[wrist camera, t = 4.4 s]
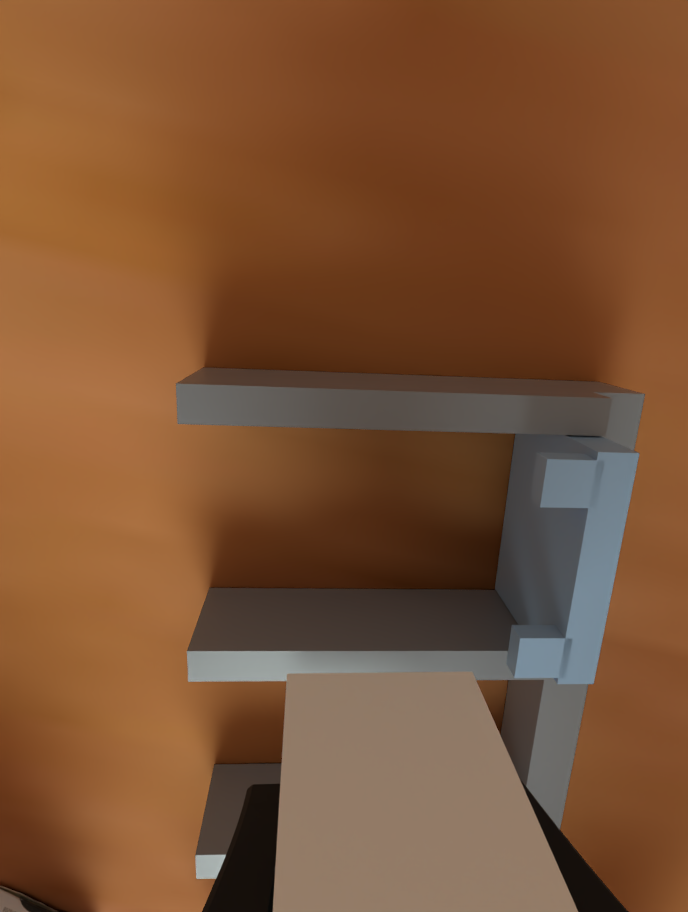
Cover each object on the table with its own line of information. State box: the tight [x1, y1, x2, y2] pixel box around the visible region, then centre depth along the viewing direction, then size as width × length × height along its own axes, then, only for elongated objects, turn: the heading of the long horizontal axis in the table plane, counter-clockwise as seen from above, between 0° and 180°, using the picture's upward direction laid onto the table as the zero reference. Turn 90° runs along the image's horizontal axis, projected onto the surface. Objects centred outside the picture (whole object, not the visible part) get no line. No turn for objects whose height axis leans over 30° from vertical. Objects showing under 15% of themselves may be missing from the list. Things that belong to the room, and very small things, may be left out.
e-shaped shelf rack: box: [176, 367, 645, 879], centre depth 18 cm, size 24×12×5 cm, turn 178°
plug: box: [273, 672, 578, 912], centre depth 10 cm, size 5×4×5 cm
